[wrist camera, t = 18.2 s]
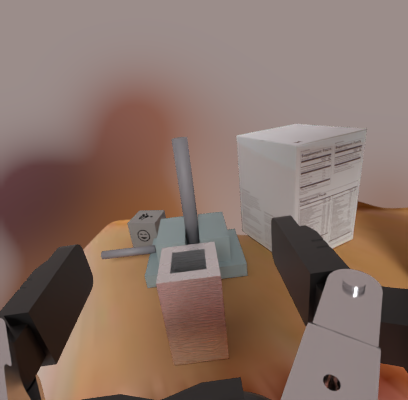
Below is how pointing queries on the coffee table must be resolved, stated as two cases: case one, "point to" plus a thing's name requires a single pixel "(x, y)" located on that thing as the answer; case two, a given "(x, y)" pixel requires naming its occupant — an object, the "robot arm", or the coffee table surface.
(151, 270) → the vise
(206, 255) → the steel sleeve
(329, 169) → the supplement box
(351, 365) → the robot arm
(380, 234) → the coffee table surface
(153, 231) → the dice cube
